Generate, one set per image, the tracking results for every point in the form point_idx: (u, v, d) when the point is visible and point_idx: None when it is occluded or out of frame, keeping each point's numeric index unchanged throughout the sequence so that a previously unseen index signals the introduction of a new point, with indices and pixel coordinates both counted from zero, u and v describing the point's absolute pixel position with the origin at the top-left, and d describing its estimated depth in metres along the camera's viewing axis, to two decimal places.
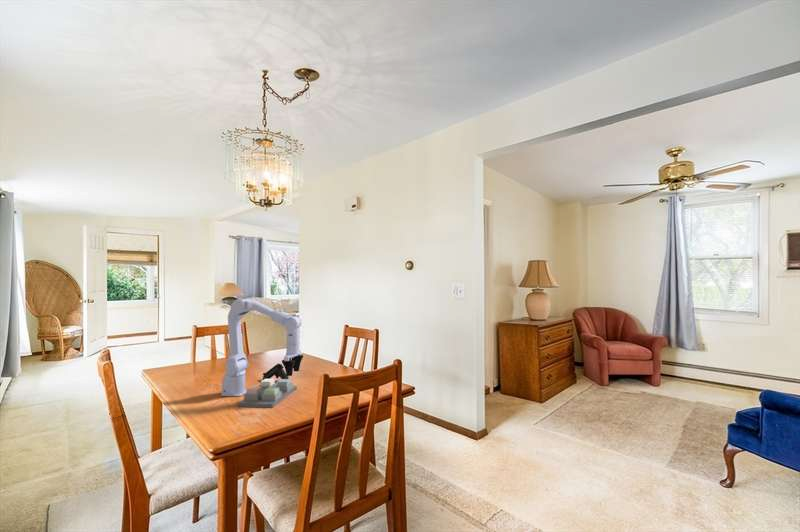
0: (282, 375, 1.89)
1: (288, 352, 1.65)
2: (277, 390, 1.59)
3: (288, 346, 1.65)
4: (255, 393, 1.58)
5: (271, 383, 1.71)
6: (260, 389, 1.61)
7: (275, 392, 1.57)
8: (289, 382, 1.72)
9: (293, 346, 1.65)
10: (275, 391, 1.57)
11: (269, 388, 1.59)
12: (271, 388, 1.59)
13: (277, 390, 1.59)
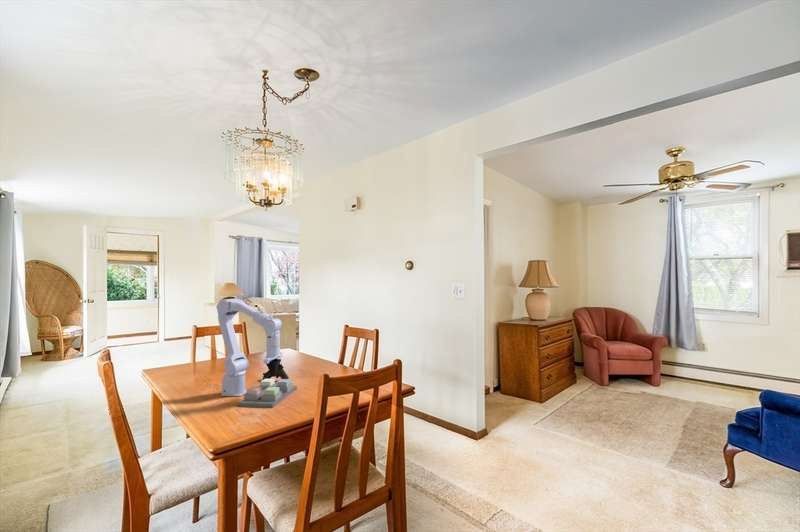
0: (282, 375, 1.89)
1: (268, 355, 1.62)
2: (277, 390, 1.59)
3: (268, 348, 1.62)
4: (255, 393, 1.58)
5: (271, 383, 1.71)
6: (260, 389, 1.61)
7: (275, 392, 1.57)
8: (289, 382, 1.72)
9: (273, 348, 1.62)
10: (275, 391, 1.57)
11: (269, 388, 1.59)
12: (271, 388, 1.59)
13: (277, 390, 1.59)
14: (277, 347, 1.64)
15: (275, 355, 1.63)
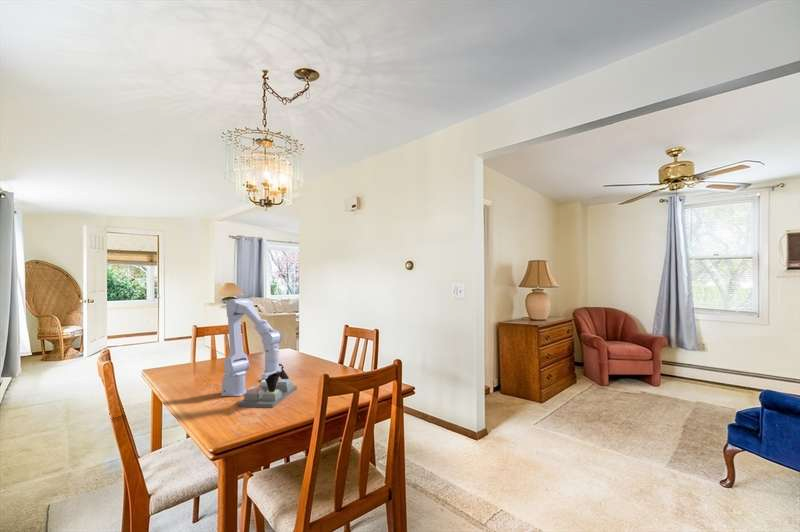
0: (282, 375, 1.89)
1: (266, 369, 1.57)
2: None
3: (266, 363, 1.57)
4: (255, 393, 1.58)
5: None
6: (260, 389, 1.61)
7: None
8: (289, 382, 1.72)
9: (272, 363, 1.57)
10: (275, 394, 1.57)
11: None
12: None
13: (277, 392, 1.59)
14: (276, 361, 1.58)
15: (274, 370, 1.57)
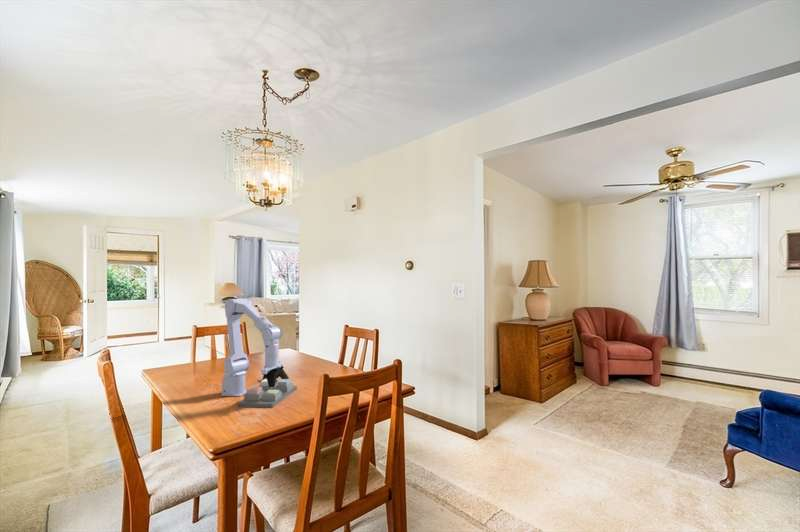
0: (282, 375, 1.89)
1: (266, 364, 1.57)
2: None
3: (266, 358, 1.57)
4: (255, 393, 1.58)
5: None
6: (260, 389, 1.61)
7: None
8: (289, 382, 1.72)
9: (272, 358, 1.57)
10: (275, 394, 1.57)
11: (269, 391, 1.59)
12: (271, 391, 1.59)
13: None
14: (276, 357, 1.58)
15: (274, 365, 1.57)
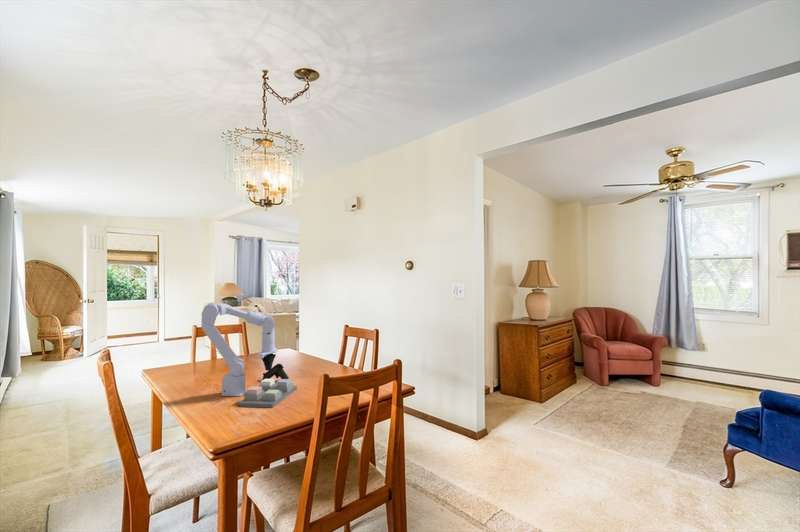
0: (282, 375, 1.89)
1: (263, 350, 1.74)
2: None
3: (263, 344, 1.74)
4: (255, 393, 1.58)
5: (271, 383, 1.71)
6: (260, 389, 1.61)
7: None
8: (289, 382, 1.72)
9: (268, 344, 1.73)
10: (275, 394, 1.57)
11: (269, 391, 1.59)
12: (271, 391, 1.59)
13: None
14: (272, 343, 1.75)
15: (270, 350, 1.74)
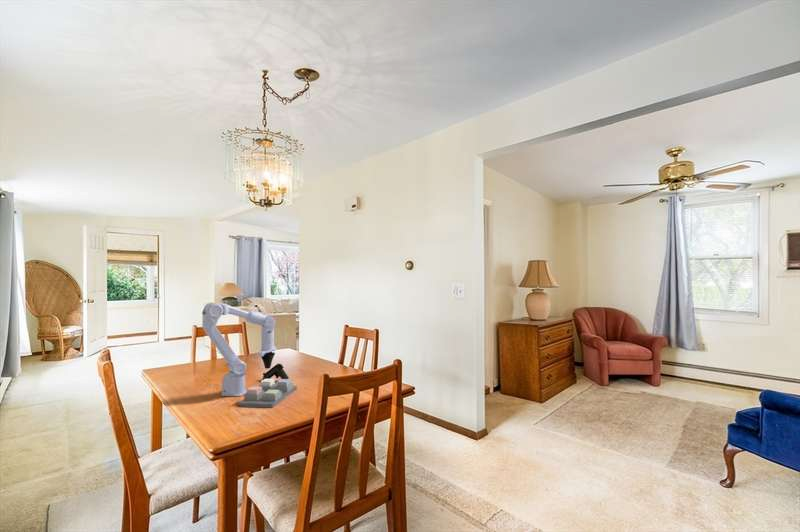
0: (282, 375, 1.89)
1: (263, 348, 1.77)
2: None
3: (263, 343, 1.77)
4: (255, 393, 1.58)
5: (271, 383, 1.71)
6: (260, 389, 1.61)
7: None
8: (289, 382, 1.72)
9: (267, 343, 1.77)
10: (275, 394, 1.57)
11: (269, 391, 1.59)
12: (271, 391, 1.59)
13: None
14: (271, 341, 1.78)
15: (269, 349, 1.77)
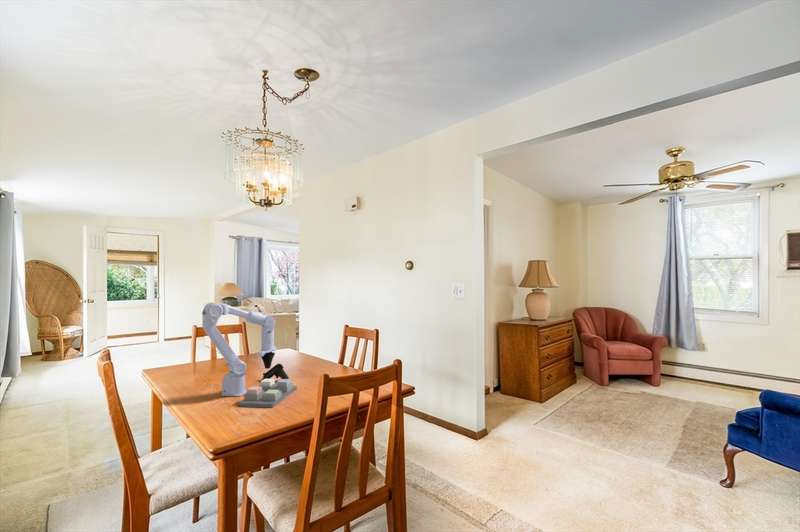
0: (282, 375, 1.89)
1: (263, 348, 1.77)
2: None
3: (263, 343, 1.77)
4: (255, 393, 1.58)
5: (271, 383, 1.71)
6: (260, 389, 1.61)
7: None
8: (289, 382, 1.72)
9: (267, 343, 1.77)
10: (275, 394, 1.57)
11: (269, 391, 1.59)
12: (271, 391, 1.59)
13: None
14: (271, 341, 1.78)
15: (269, 349, 1.77)
